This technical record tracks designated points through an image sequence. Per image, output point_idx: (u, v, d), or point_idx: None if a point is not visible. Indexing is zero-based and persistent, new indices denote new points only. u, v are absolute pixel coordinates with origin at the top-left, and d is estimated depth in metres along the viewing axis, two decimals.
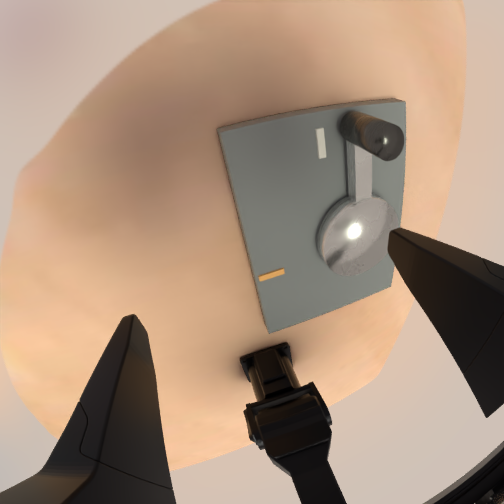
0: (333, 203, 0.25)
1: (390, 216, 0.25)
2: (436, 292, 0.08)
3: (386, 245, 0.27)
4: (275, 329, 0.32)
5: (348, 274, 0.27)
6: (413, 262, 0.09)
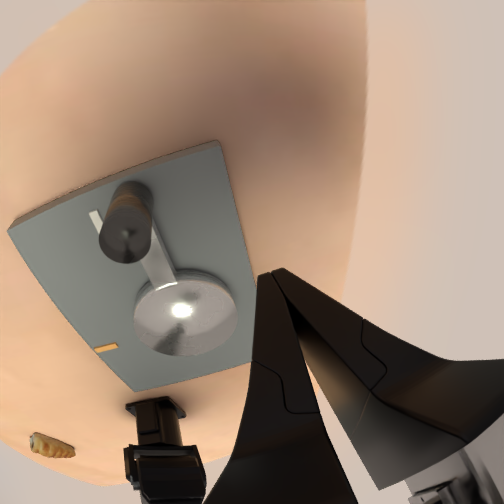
0: (143, 285, 0.21)
1: (216, 300, 0.21)
2: None
3: (226, 327, 0.23)
4: (139, 389, 0.28)
5: (184, 355, 0.24)
6: None
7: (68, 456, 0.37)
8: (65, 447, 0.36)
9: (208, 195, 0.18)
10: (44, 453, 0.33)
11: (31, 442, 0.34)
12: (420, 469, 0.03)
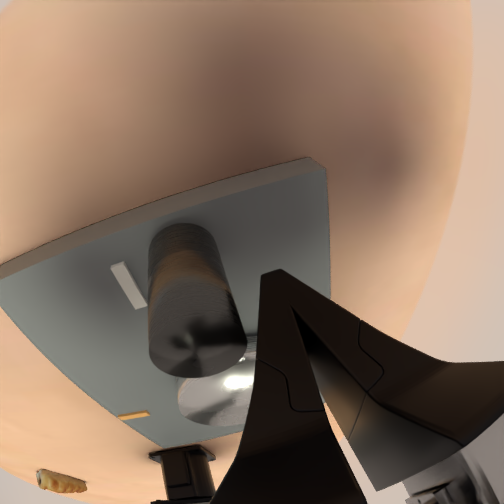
0: None
1: None
2: None
3: None
4: (169, 446, 0.23)
5: (237, 424, 0.18)
6: None
7: (79, 491, 0.30)
8: (75, 483, 0.30)
9: (298, 240, 0.13)
10: (53, 490, 0.27)
11: (38, 477, 0.28)
12: (417, 471, 0.03)
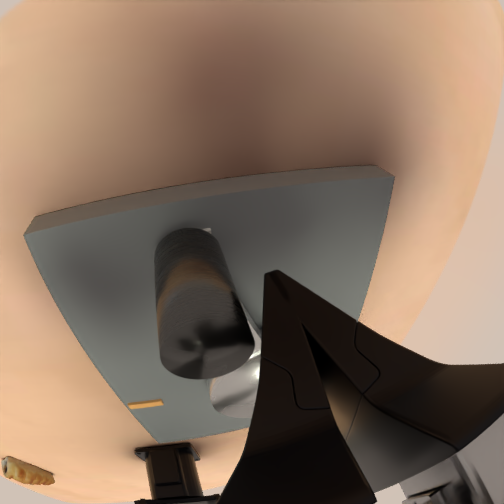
0: None
1: None
2: None
3: None
4: (166, 441, 0.22)
5: None
6: None
7: (47, 483, 0.26)
8: (43, 474, 0.26)
9: (360, 235, 0.14)
10: (19, 480, 0.22)
11: (3, 465, 0.23)
12: (412, 474, 0.03)
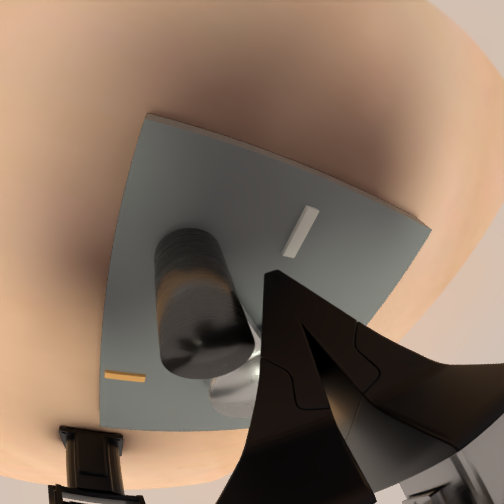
0: (261, 325, 0.15)
1: None
2: None
3: None
4: (109, 426, 0.18)
5: None
6: None
7: None
8: None
9: (393, 265, 0.16)
10: None
11: None
12: (413, 473, 0.03)
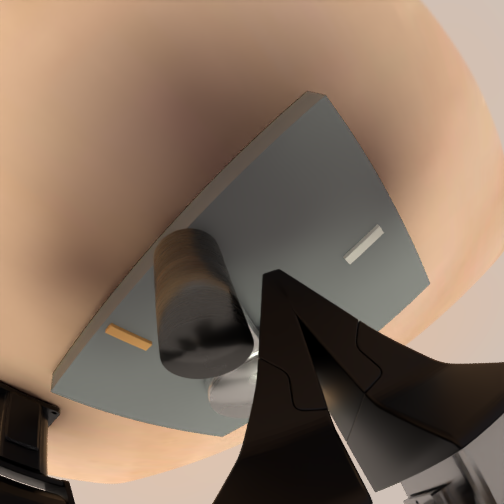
0: None
1: None
2: None
3: None
4: (62, 394, 0.15)
5: None
6: None
7: None
8: None
9: (396, 303, 0.19)
10: None
11: None
12: (415, 472, 0.03)
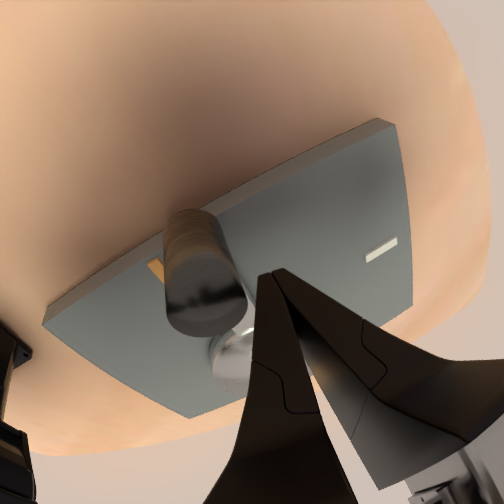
0: None
1: None
2: None
3: None
4: (54, 330, 0.14)
5: None
6: None
7: None
8: None
9: (383, 314, 0.22)
10: None
11: None
12: (420, 469, 0.03)
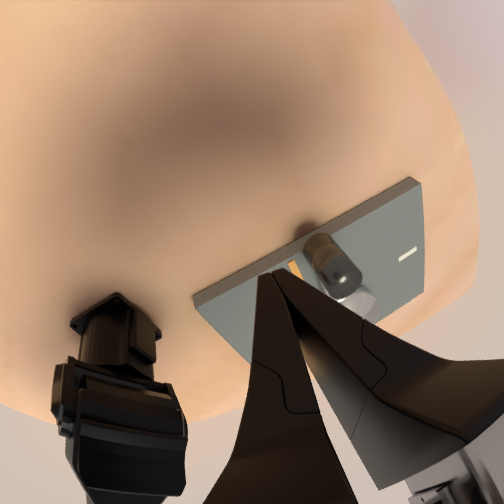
0: (362, 285, 0.28)
1: (369, 304, 0.27)
2: None
3: None
4: (204, 311, 0.24)
5: None
6: None
7: None
8: None
9: (405, 296, 0.31)
10: None
11: None
12: (420, 469, 0.03)
